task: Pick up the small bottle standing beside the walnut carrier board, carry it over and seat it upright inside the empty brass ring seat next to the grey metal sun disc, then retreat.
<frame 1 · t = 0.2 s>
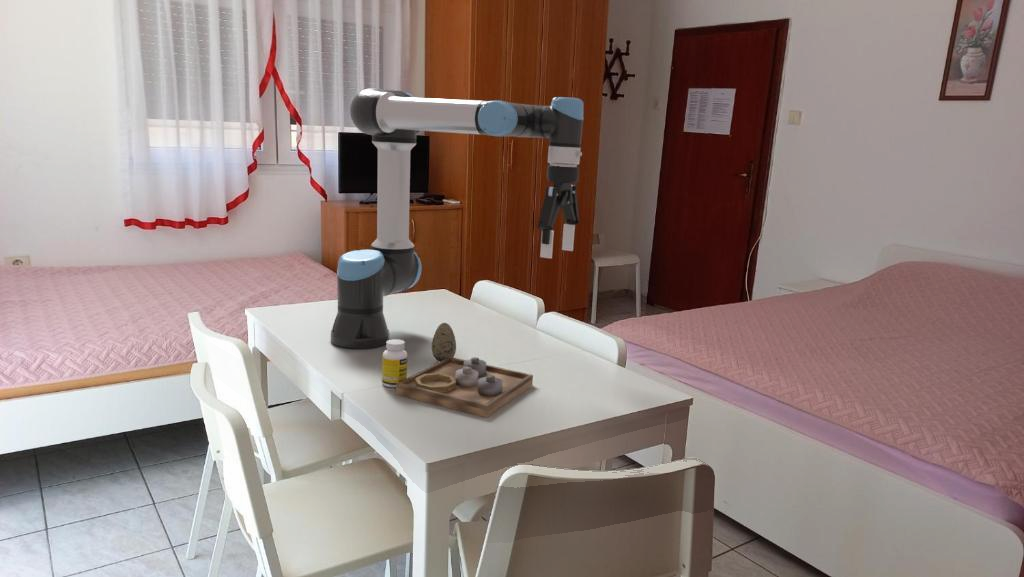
hand: (557, 254, 170), 28 cm above the table, fingers open, 13 cm apart
decorative egg: (443, 362, 172), on the table
supplement bottle: (394, 384, 156), on the table
carrier: (466, 389, 155), on the table
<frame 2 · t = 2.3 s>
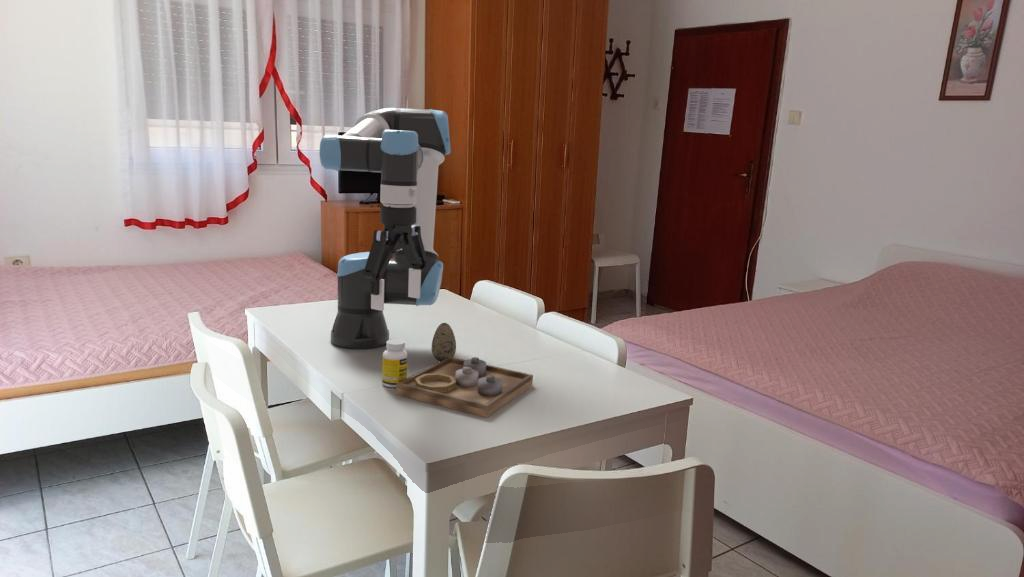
hand: (396, 303, 152), 18 cm above the table, fingers open, 13 cm apart
nothing on the table moved.
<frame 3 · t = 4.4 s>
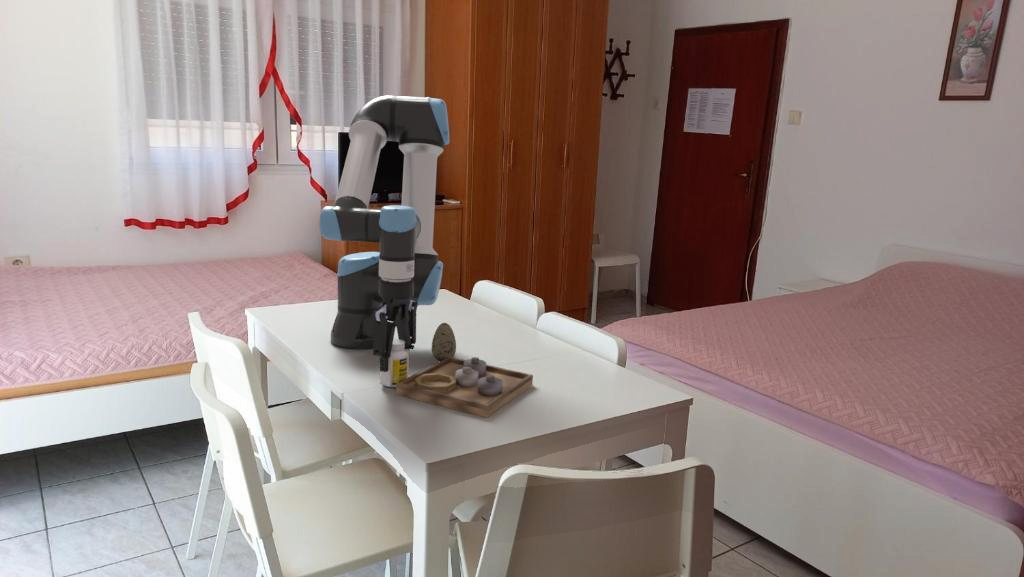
hand: (394, 380, 156), 1 cm above the table, fingers closed on supplement bottle, 5 cm apart
supplement bottle: (394, 384, 156), on the table, touching gripper
everything else where it was.
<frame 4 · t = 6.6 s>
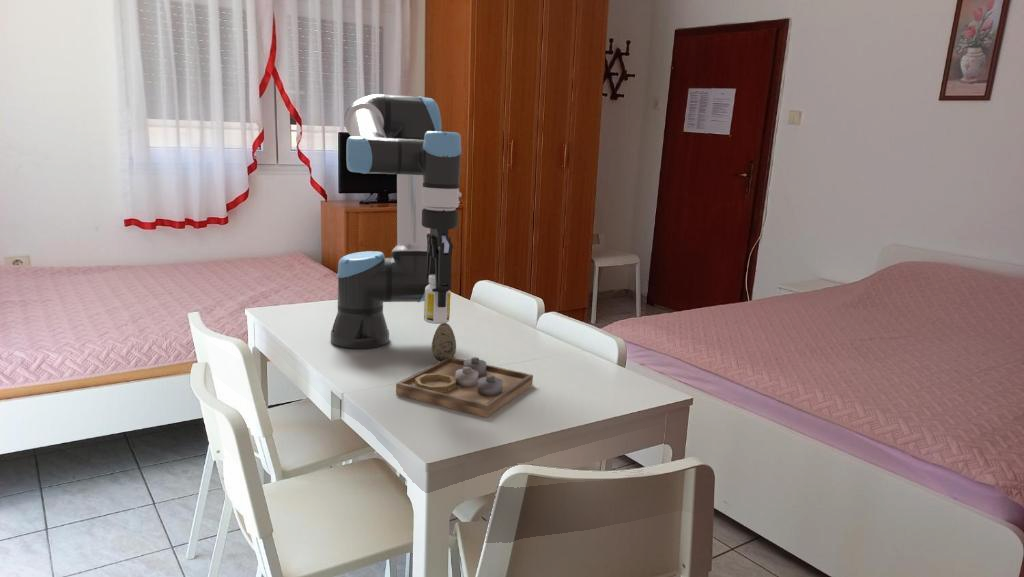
hand: (436, 317, 149), 17 cm above the table, fingers closed on supplement bottle, 5 cm apart
supplement bottle: (436, 322, 149), point 16 cm above the table, touching gripper
everything else where it was.
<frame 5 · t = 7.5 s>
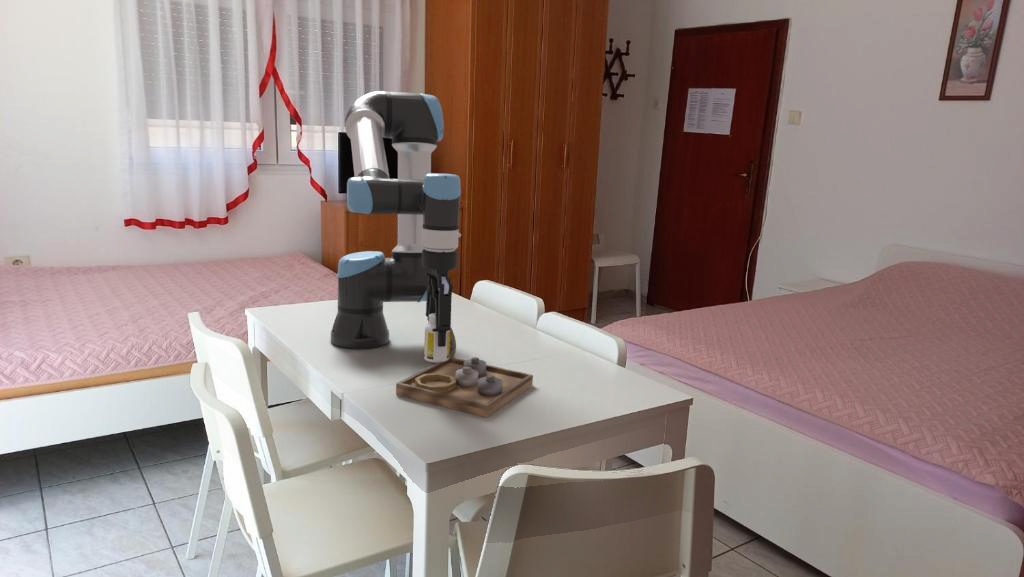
hand: (436, 355, 151), 8 cm above the table, fingers closed on supplement bottle, 5 cm apart
supplement bottle: (436, 360, 151), point 7 cm above the table, touching gripper
everything else where it was.
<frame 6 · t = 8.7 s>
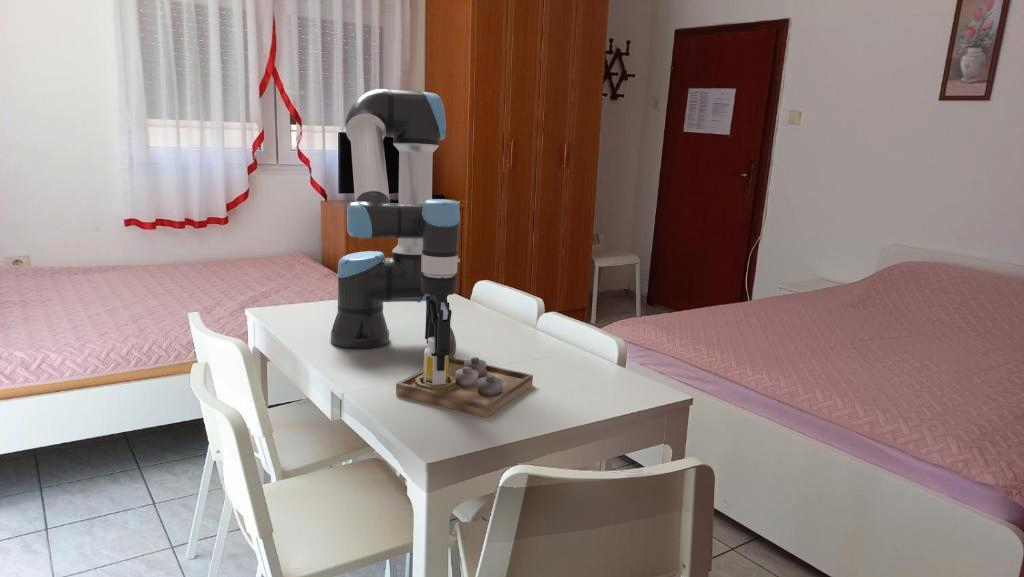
hand: (435, 378, 152), 3 cm above the table, fingers closed on supplement bottle, 5 cm apart
supplement bottle: (435, 383, 152), point 2 cm above the table, touching gripper
everything else where it was.
when the fingers open (3 cm above the table, at t = 8.8 s): supplement bottle stays where it is, resting on carrier.
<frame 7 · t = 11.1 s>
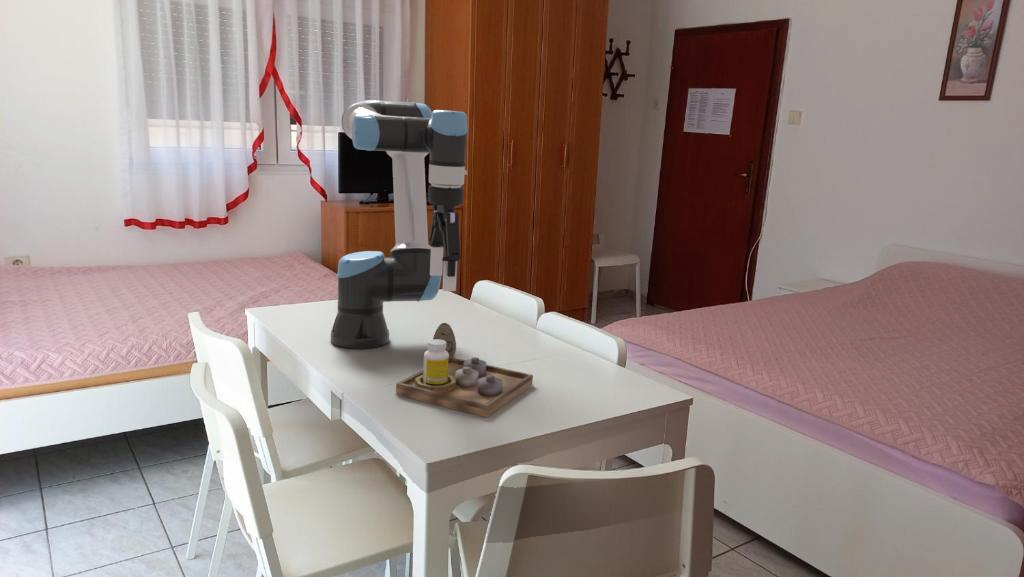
hand: (442, 282, 154), 23 cm above the table, fingers open, 13 cm apart
supplement bottle: (435, 385, 153), point 1 cm above the table, touching carrier
everything else where it was.
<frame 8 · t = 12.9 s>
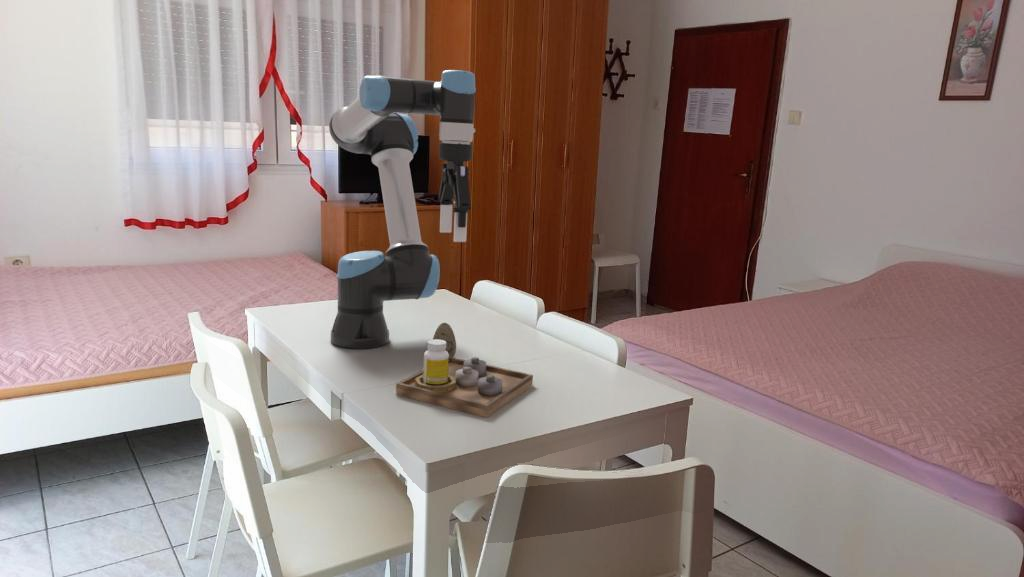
hand: (452, 237, 162), 32 cm above the table, fingers open, 13 cm apart
nothing on the table moved.
at the end: supplement bottle 0.2 cm from the target spot on the carrier, point 1.3 cm above the carrier's base; supplement bottle tilted 0°; the gripper is holding nothing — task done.
